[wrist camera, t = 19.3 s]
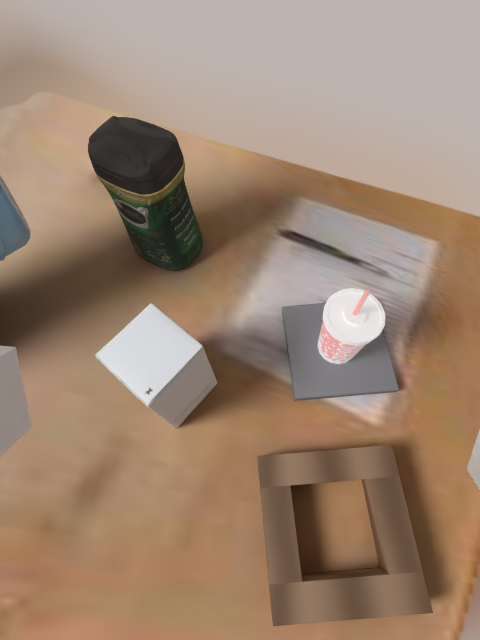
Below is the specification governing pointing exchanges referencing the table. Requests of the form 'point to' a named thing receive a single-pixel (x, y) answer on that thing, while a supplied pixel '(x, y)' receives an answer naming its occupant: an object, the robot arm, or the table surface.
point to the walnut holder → (350, 585)
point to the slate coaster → (329, 378)
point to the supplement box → (160, 365)
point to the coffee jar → (147, 189)
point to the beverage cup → (349, 324)
